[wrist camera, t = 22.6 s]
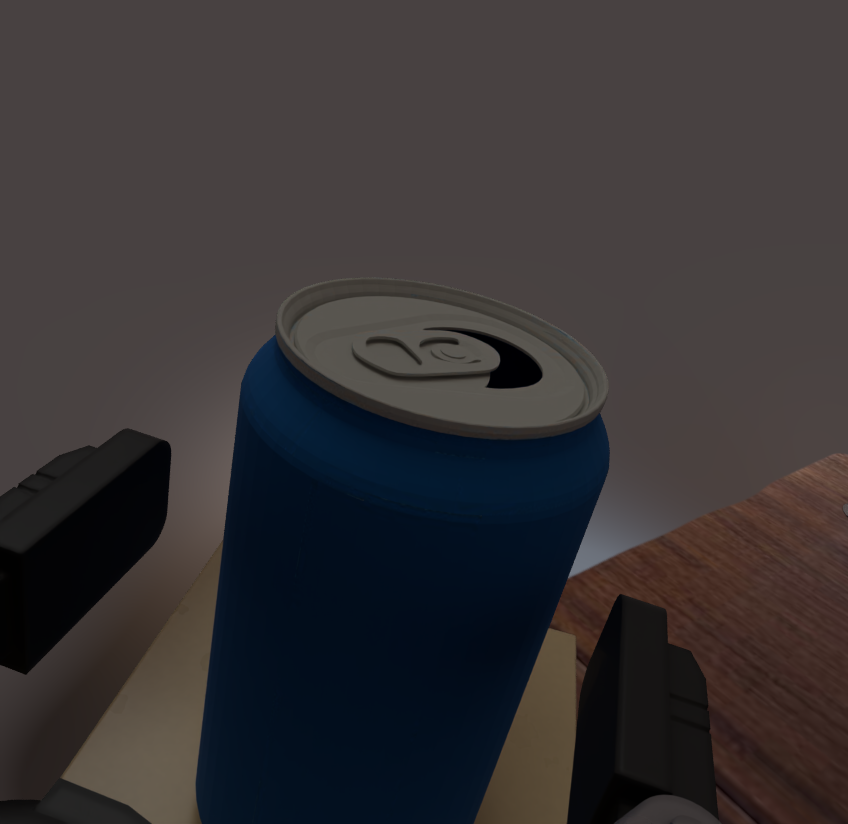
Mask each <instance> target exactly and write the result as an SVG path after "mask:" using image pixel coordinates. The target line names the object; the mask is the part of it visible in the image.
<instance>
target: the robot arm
mask: <svg viewBox="0 0 848 824" xmlns="http://www.w3.org/2000/svg"><path fill="white" fill-rule="evenodd" d="M170 464H171V447H170V444H169V443H168V442H167V441H165V440H161V439H158V438H155V437H152V436H150V435H147V434H143V433H141V432H138V431H135V430H132V429H123V430H122V431H120V432H119V433H117V434H116V435H114V436H113V437H112V438H111V439H109V440H108V441H107V442H105V443H104V444H102V445H101V446H100V447H98V448H95V447H92V446H86V447H83V448H80V449H77V450H74V451H71V452H68V453H65V454H62V455H59V456H58V457H56V458H55V459H54V460H52V461H51V462H49V463H48V464H46V465H45V466H43V467H42V468H40V469H39V470H38V471H37V473H36V474H35V475H34V474H32V475H30V476H29V477H28V478H26V479H25V480H23V481H22V482H21V483H19V485H18V487H17V488H16V487H13V488H12V489H10V490H9V491H8V492H6V493H5V494H3V495H2V496H0V665H2V666H5V667H8V668H10V669H12V670H15V671H18V672H20V673H23V674H25V675H26V674H27V673H28V672H29V671H30V670H31V669H32V668H33V667H34V666H35V665H36V664H37V663H38V662H39V661H40V660H41V659H42V658H43V657H44V656H45V655H46V654H47V653H48V652H49V651H50V650H51V649H52V648H53V647H54V646H55V645H56V644H57V643H58V642H59V641H60V640H61V639H62V638H63V637H64V636H65V635H66V634H67V633H68V631H70V629H72V627H73V626H75V624H77V623H78V621H79V620H80V619H81V618H82V617H83V616H84V615H85V614H86V613H87V612H88V611H89V610H90V609H91V608H92V607H93V606H94V605H95V604H96V603H97V602H98V601H99V600H100V599H101V598H102V597H103V596H104V595H105V594H106V593H107V592H108V591H109V590H110V589H111V588H112V587H113V586H114V585H115V584H116V583H117V582H118V581H119V580H120V579H121V578H122V577H123V576H124V575H125V574H126V573H127V572H128V571H129V570H130V569H131V568H132V567H133V565H135V564H136V563H137V562H138V560H140V559H141V558H142V556H143V555H144V554H145V553H146V552H147V551H148V550H149V549H150V548H151V547H152V546H153V545H154V544H155V542H156V541H157V539H158V537H159V535H160V534H161V531H162V529H163V526H164V524H165V520H166V516H167V507H168V492H169V478H170ZM707 708H708V698H707V687H706V678H705V677H704V675H703V673H702V671H701V669H700V668H699V666H698V664H697V662H696V660H695V658H694V657H693V655H692V653H691V651H689V650H686V649H683V648H680V647H677V646H674V645H672V644H669V643H668V635H667V613H666V610H665V609H664V608H661V607H658V606H655V605H652V604H649V603H646V602H643V601H640V600H637V599H634V598H631V597H628V596H625V595H622V594H620V595H619V596H618V597H617V599H616V601H615V603H614V605H613V607H612V610H611V612H610V614H609V617H608V619H607V622H606V624H605V626H604V629H603V631H602V633H601V636H600V638H599V640H598V643H597V645H596V647H595V650H594V652H593V655H592V657H591V659H590V662H589V664H588V667H587V670H586V673H585V677H584V681H583V685H582V689H581V694H580V701H579V710H578V720H577V729H576V739H575V749H574V758H573V768H572V778H571V787H570V797H569V807H568V816H567V824H721V823H720V822H719V818H718V808H717V797H716V786H715V775H714V764H713V753H712V742H711V734H709V730H710V720H709V711H707ZM0 824H152V823H150V822H149V821H148V820H147V819H145V818H144V817H143V816H142V815H140V814H139V813H138V812H136V811H135V810H134V809H133V808H131V807H130V806H129V805H126V804H124V803H122V802H119V801H117V800H114V799H112V798H109V797H107V796H104V795H102V794H99V793H97V792H94V791H92V790H89V789H87V788H84V787H82V786H79V785H77V784H74V783H72V782H69V781H67V780H64V779H62V778H59V779H58V780H57V782H56V783H55V784H54V786H53V787H52V788H51V789H50V791H49V792H48V793H47V794H46V795H45V797H44V798H43V799H42V800H41V801H40V800H7V801H0Z"/></svg>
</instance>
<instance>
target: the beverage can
mask: <svg viewBox="0 0 848 824" xmlns="http://www.w3.org/2000/svg"><path fill="white" fill-rule="evenodd" d="M275 329H276V331H275V335H274V336H273V337H272V338H271V339H270V340H269V341H268V342H267V343H266V344H264V345H263V347H262V348H261V349H260V350H259V351H258V352H257V354H256V355H255V356H254V358H253V359H252V361H251V362H250V364H249V366H248V368H247V370H246V373H245V375H244V378H243V380H242V383H241V392H240V400H239V409H238V417H237V427H236V435H235V443H234V452H233V460H232V469H231V478H230V486H229V495H228V504H227V513H226V521H225V530H224V539H223V547H222V556H221V564H220V573H219V582H218V590H217V599H216V608H215V616H214V625H213V634H212V642H211V651H210V660H209V668H208V677H207V686H206V694H205V703H204V712H203V720H202V729H201V738H200V746H199V755H198V763H197V773H196V783H195V784H196V802H197V807H198V811H199V816H200V820H201V823H202V824H474V822H475V819H476V816H477V814H478V811H479V809H480V806H481V803H482V801H483V798H484V796H485V793H486V790H487V788H488V785H489V782H490V780H491V777H492V775H493V772H494V769H495V767H496V764H497V762H498V759H499V756H500V754H501V751H502V748H503V746H504V743H505V741H506V738H507V735H508V733H509V730H510V728H511V725H512V722H513V720H514V717H515V715H516V712H517V709H518V707H519V704H520V701H521V699H522V696H523V694H524V691H525V688H526V686H527V683H528V681H529V678H530V675H531V673H532V670H533V667H534V665H535V662H536V660H537V657H538V654H539V652H540V649H541V647H542V644H543V641H544V639H545V636H546V634H547V631H548V628H549V626H550V623H551V620H552V618H553V615H554V613H555V610H556V607H557V605H558V602H559V600H560V597H561V594H562V592H563V589H564V586H565V584H566V581H567V579H568V576H569V573H570V571H571V568H572V566H573V563H574V560H575V558H576V555H577V552H578V550H579V547H580V545H581V542H582V539H583V537H584V534H585V531H586V529H587V526H588V524H589V521H590V518H591V516H592V513H593V510H594V508H595V505H596V503H597V500H598V498H599V495H600V492H601V490H602V487H603V484H604V482H605V479H606V476H607V473H608V469H609V454H610V452H609V451H610V450H609V441H608V437H607V432H606V429H605V425H604V423H603V420H602V418H601V415H600V412H601V410H602V408H603V406H604V404H605V401H606V399H607V395H608V388H609V383H608V379H607V375H606V373H605V372H604V370H603V368H602V366H601V364H600V363H599V362H598V361H597V359H596V358H595V357H594V356H593V355H592V354H591V353H590V352H589V351H588V350H587V349H586V348H585V347H584V346H583V345H582V344H580V343H579V342H578V341H577V340H575V339H574V338H573V337H571V336H570V335H568V334H566V333H565V332H564V331H562V330H561V329H559V328H557V327H555V326H554V325H552V324H550V323H548V322H546V321H544V320H542V319H540V318H538V317H536V316H534V315H532V314H530V313H528V312H525V311H523V310H521V309H519V308H516V307H513V306H511V305H508V304H505V303H503V302H500V301H497V300H494V299H491V298H488V297H485V296H482V295H478V294H475V293H471V292H468V291H463V290H459V289H455V288H451V287H447V286H441V285H436V284H431V283H424V282H418V281H411V280H401V279H388V278H350V279H339V280H331V281H326V282H322V283H317V284H314V285H311V286H308V287H305V288H303V289H301V290H299V291H297V292H295V293H293V294H292V295H291V296H289V297H288V298H287V299H286V300H285V301H284V302H283V303H282V305H281V306H280V308H279V311H278V313H277V319H276V326H275Z"/></svg>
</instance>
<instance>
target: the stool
mask: <svg viewBox="0 0 848 824" xmlns="http://www.w3.org/2000/svg"><path fill="white" fill-rule="evenodd" d="M222 547H223V541H222V542H221V544H220V545H219V547H218V548H217V550H216V551H215V552H214V554H213V555H212V557H211V558H210V560H209V561H208V563H207V564H206V566H205V567H204V569H203V570H202V571H201V573H200V574H199V576H198V577H197V579H196V581H195V582H194V583H193V584H192V586H191V587H190V589H189V590H188V592H187V593H186V595H185V596H184V598H183V599H182V601H181V602H180V604H179V605H178V606H177V608H176V609H175V611H174V612H173V614H172V615H171V617H170V618H169V620H168V621H167V622H166V624H165V625H164V627H163V628H162V630H161V631H160V633H159V634H158V636H157V637H156V639H155V640H154V641H153V643H152V644H151V646H150V648H149V649H148V650H147V652H146V653H145V655H144V656H143V658H142V659H141V660H140V662H139V664H138V665H137V666H136V668H135V669H134V671H133V672H132V674H131V675H130V677H129V678H128V679H127V681H126V683H125V684H124V686H123V687H122V688H121V690H120V691H119V693H118V694H117V696H116V697H115V698H114V700H113V701H112V703H111V705H110V706H109V707H108V709H107V710H106V712H105V713H104V715H103V716H102V717H101V719H100V720H99V722H98V724H97V725H96V726H95V728H94V729H93V731H92V732H91V734H90V735H89V736H88V738H87V740H86V741H85V742H84V744H83V745H82V747H81V748H80V750H79V751H78V753H77V754H76V755H75V757H74V758H73V760H72V761H71V763H70V764H69V766H68V767H67V769H66V770H65V772H64V773H63V775H62V776H61V777H60V778H62V779H64V780H67V781H69V782H72V783H74V784H77V785H79V786H82V787H84V788H87V789H89V790H92V791H94V792H97V793H99V794H102V795H104V796H107V797H109V798H112V799H114V800H117V801H119V802H122V803H124V804H126V805H129V806H130V807H131V808H133V809H134V810H135V811H136V812H138V813H139V814H140V815H142V816H143V817H144V818H145V819H147V820H148V821H149V822H150V823H152V824H202V823H201V820H200V816H199V811H198V807H197V802H196V784H195V783H196V773H197V763H198V755H199V746H200V738H201V729H202V720H203V712H204V703H205V694H206V686H207V677H208V668H209V660H210V651H211V642H212V634H213V625H214V616H215V608H216V599H217V590H218V582H219V573H220V564H221V556H222ZM575 739H576V636H574V635H571V634H568V633H564V632H561V631H557V630H554V629H550V628H548V631H547V634H546V636H545V639H544V641H543V644H542V647H541V649H540V652H539V654H538V657H537V660H536V662H535V665H534V667H533V670H532V673H531V675H530V678H529V681H528V683H527V686H526V688H525V691H524V694H523V696H522V699H521V701H520V704H519V707H518V709H517V712H516V715H515V717H514V720H513V722H512V725H511V728H510V730H509V733H508V735H507V738H506V741H505V743H504V746H503V748H502V751H501V754H500V756H499V759H498V762H497V764H496V767H495V769H494V772H493V775H492V777H491V780H490V782H489V785H488V788H487V790H486V793H485V796H484V798H483V801H482V803H481V806H480V809H479V811H478V814H477V816H476V819H475V822H474V824H567V816H568V807H569V797H570V787H571V778H572V768H573V758H574V749H575Z"/></svg>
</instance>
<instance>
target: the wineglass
mask: <svg viewBox="0 0 848 824" xmlns="http://www.w3.org/2000/svg"><path fill="white" fill-rule="evenodd" d="M843 511H844V512H845V514H846V515H847V516H848V503H847V504H844V506H843Z"/></svg>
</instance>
